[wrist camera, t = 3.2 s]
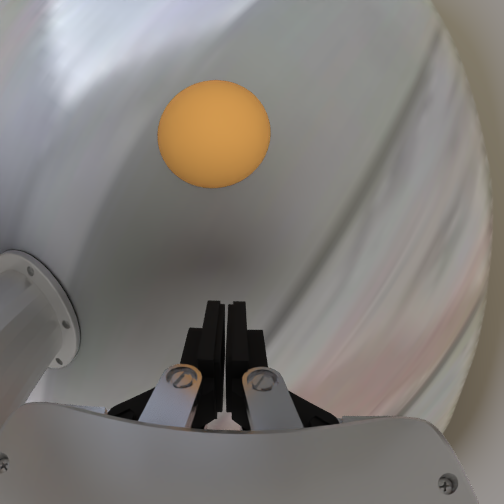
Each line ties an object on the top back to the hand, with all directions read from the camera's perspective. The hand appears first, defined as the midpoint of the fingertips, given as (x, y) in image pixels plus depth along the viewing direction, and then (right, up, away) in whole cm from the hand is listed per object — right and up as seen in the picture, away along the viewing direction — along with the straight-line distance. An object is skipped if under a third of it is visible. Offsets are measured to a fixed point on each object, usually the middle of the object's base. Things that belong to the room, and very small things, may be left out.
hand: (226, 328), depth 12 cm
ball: (-1, +10, +1) cm, 10 cm away
